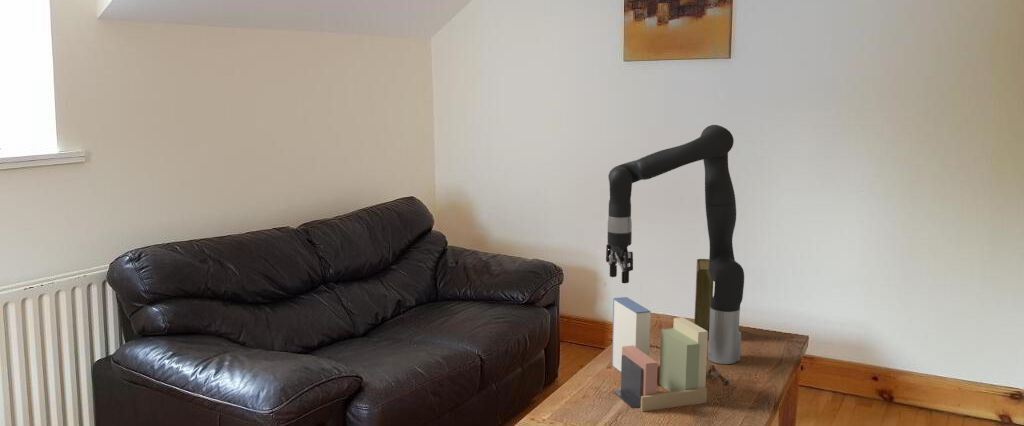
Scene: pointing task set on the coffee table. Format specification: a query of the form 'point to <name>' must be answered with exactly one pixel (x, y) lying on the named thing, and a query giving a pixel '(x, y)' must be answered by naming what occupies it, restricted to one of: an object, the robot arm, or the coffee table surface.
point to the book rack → (674, 367)
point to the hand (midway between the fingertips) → (619, 279)
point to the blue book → (629, 328)
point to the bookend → (630, 383)
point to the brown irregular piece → (716, 375)
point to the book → (703, 294)
